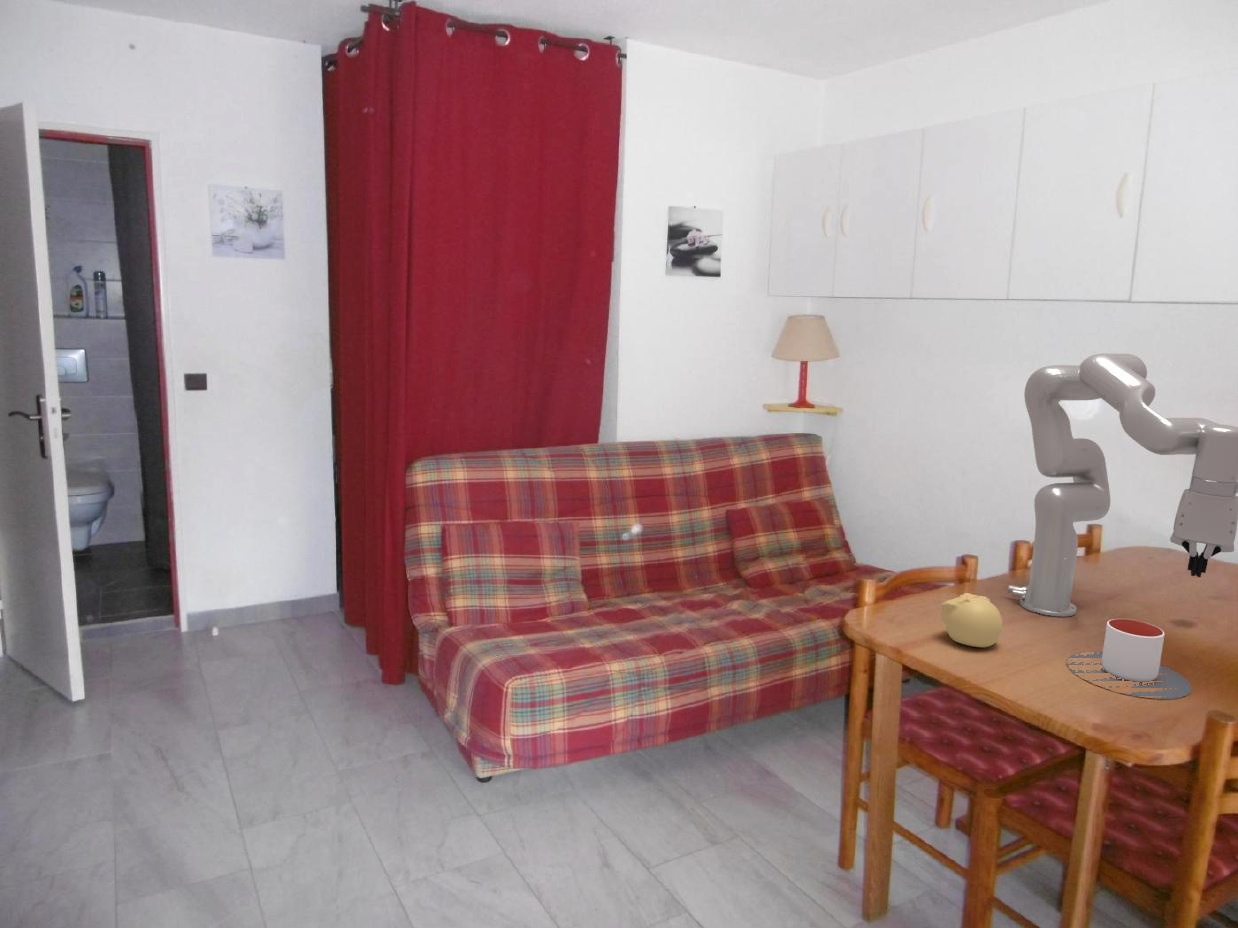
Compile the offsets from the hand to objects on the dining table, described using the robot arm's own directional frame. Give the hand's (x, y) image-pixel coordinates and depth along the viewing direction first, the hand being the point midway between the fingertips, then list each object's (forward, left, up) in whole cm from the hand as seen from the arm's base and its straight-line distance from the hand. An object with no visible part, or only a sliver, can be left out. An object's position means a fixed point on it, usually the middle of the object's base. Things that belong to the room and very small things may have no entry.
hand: (1195, 574), depth 171 cm
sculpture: (-39, -9, -21) cm, 46 cm away
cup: (-9, -9, -21) cm, 24 cm away
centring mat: (-10, -9, -21) cm, 24 cm away
